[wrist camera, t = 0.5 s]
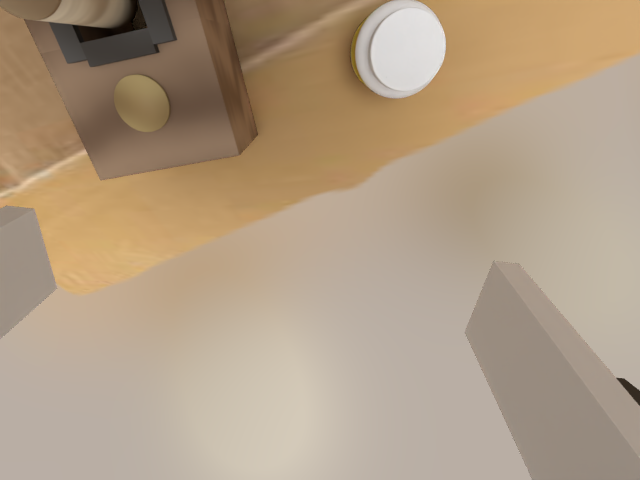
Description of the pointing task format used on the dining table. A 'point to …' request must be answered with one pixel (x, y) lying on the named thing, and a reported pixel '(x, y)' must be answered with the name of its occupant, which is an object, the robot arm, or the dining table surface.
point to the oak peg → (75, 11)
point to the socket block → (152, 87)
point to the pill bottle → (398, 48)
